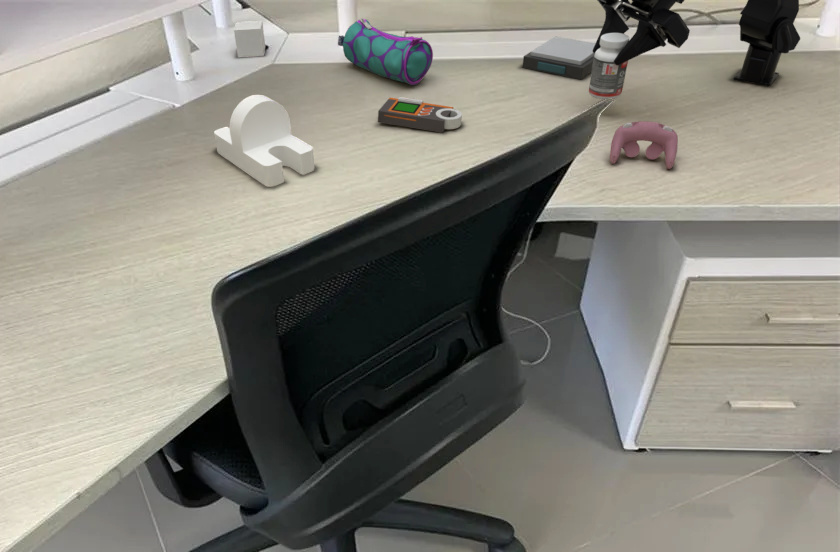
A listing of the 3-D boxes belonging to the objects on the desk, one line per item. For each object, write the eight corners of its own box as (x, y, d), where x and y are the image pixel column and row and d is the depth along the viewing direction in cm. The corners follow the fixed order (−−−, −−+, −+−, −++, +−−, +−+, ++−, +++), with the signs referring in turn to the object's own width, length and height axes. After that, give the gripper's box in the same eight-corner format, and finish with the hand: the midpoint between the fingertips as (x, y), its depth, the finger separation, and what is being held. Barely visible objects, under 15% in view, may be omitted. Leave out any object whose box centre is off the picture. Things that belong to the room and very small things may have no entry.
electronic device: (457, 121, 123) (376, 108, 127) (455, 137, 125) (376, 123, 129) (466, 106, 127) (388, 94, 132) (465, 121, 129) (388, 109, 134)
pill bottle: (622, 101, 123) (634, 43, 117) (588, 100, 124) (598, 43, 118) (619, 88, 127) (630, 31, 121) (587, 87, 128) (596, 31, 122)
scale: (551, 49, 154) (553, 34, 152) (608, 59, 147) (611, 44, 145) (521, 68, 146) (523, 52, 144) (580, 80, 140) (582, 64, 137)
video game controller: (671, 169, 113) (680, 124, 112) (674, 169, 109) (684, 123, 107) (606, 163, 116) (615, 119, 114) (607, 163, 112) (616, 117, 110)
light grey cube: (265, 47, 165) (262, 20, 162) (263, 55, 161) (260, 28, 157) (240, 48, 166) (236, 21, 162) (237, 57, 161) (233, 30, 157)
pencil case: (338, 67, 153) (336, 21, 146) (369, 56, 157) (368, 11, 150) (404, 92, 140) (404, 43, 134) (435, 80, 144) (437, 31, 138)
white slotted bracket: (268, 188, 113) (260, 124, 106) (215, 151, 124) (204, 91, 117) (317, 169, 117) (312, 106, 110) (261, 135, 129) (253, 76, 122)
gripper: (615, -65, 118) (549, 14, 123) (693, -43, 105) (615, 46, 109) (645, -22, 125) (581, 52, 130) (721, 5, 111) (647, 86, 116)
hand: (604, 58), depth 121 cm, fingers closed on pill bottle, 6 cm apart
